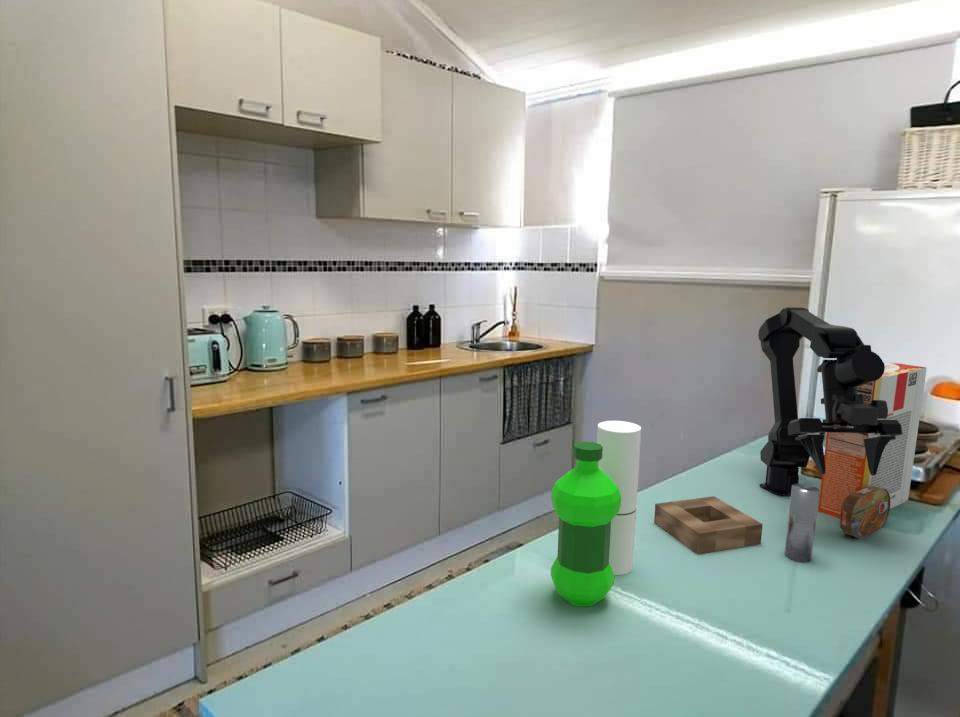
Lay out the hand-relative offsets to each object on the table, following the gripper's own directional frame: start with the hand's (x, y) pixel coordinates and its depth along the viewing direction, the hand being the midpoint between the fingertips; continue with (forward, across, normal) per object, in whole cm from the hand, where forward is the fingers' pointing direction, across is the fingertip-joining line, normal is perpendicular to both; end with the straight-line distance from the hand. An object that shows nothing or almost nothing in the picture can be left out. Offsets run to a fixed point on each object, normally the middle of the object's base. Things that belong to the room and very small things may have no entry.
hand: (848, 474), depth 122 cm
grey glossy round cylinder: (+15, -10, 0) cm, 18 cm away
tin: (+10, +7, +11) cm, 17 cm away
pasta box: (+5, +15, +22) cm, 27 cm away
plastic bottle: (+21, -52, -15) cm, 58 cm away
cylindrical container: (+17, -45, -5) cm, 48 cm away
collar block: (+11, -24, +8) cm, 28 cm away
